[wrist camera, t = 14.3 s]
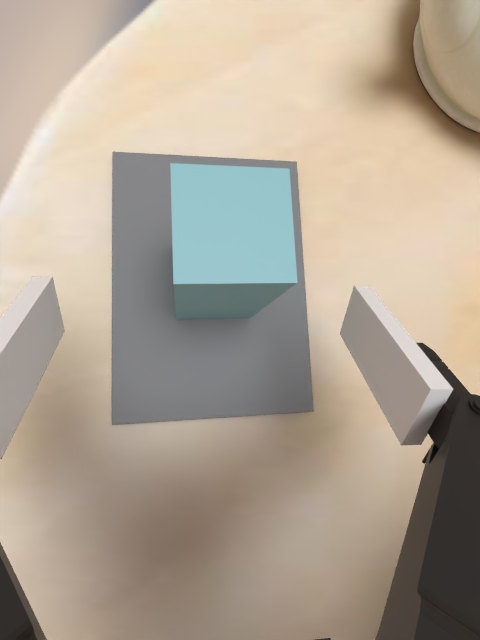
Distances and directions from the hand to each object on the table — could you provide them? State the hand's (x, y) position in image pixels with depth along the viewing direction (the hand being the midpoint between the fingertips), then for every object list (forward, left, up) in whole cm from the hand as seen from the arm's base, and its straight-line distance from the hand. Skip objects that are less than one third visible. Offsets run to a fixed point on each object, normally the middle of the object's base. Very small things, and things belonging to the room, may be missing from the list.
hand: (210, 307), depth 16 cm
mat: (-1, -3, -8) cm, 9 cm away
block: (-1, -3, -8) cm, 8 cm away
